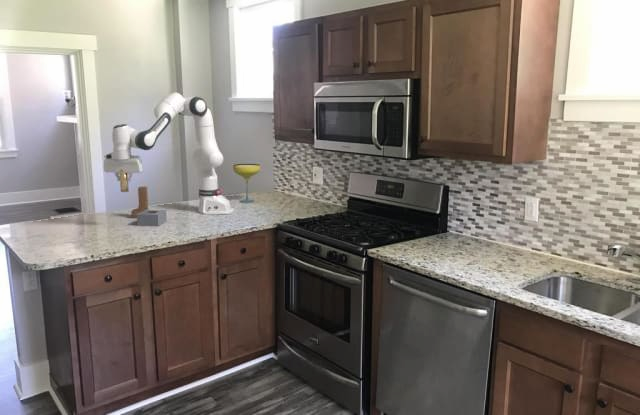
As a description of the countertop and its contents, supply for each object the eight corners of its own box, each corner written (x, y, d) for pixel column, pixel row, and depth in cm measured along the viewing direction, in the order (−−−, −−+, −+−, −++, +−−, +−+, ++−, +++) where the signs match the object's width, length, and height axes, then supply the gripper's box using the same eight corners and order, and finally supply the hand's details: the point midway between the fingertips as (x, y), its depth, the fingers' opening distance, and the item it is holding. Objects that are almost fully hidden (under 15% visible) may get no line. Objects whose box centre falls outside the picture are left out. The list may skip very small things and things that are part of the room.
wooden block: (131, 218, 304) (129, 187, 300) (133, 216, 308) (131, 186, 305) (147, 218, 305) (145, 187, 302) (148, 216, 310) (147, 186, 306)
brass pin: (129, 190, 283) (128, 168, 281) (126, 192, 279) (125, 169, 277) (122, 190, 283) (121, 168, 281) (119, 191, 280) (117, 169, 277)
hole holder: (166, 221, 297) (166, 210, 296) (158, 226, 286) (157, 214, 284) (146, 220, 298) (145, 209, 297) (137, 225, 287) (136, 214, 285)
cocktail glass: (235, 199, 366) (234, 163, 361) (261, 199, 368) (260, 163, 363) (232, 204, 349) (231, 166, 344) (259, 204, 350) (259, 167, 345)
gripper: (143, 155, 280) (145, 180, 282) (107, 154, 281) (108, 179, 284) (138, 156, 273) (140, 182, 276) (101, 155, 275) (103, 181, 278)
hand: (124, 181), depth 280 cm, fingers closed on brass pin, 4 cm apart
